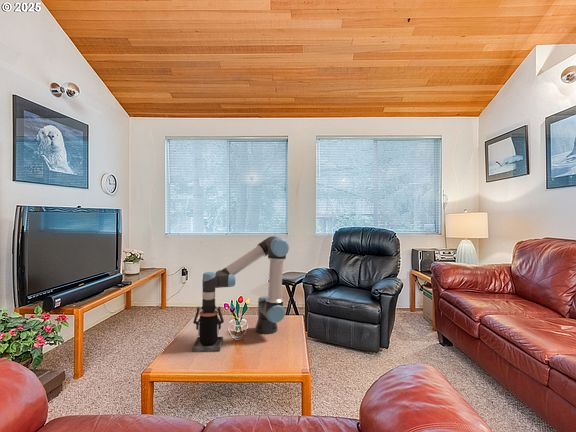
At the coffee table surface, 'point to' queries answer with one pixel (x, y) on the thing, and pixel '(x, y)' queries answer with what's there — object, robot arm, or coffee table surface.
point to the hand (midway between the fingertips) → (208, 334)
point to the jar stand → (207, 346)
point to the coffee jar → (208, 328)
